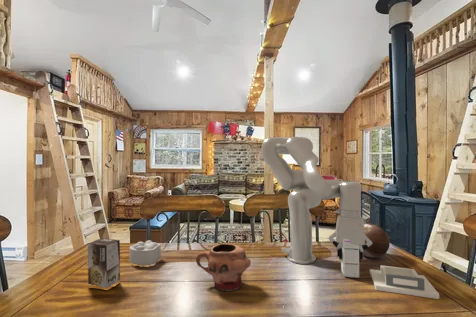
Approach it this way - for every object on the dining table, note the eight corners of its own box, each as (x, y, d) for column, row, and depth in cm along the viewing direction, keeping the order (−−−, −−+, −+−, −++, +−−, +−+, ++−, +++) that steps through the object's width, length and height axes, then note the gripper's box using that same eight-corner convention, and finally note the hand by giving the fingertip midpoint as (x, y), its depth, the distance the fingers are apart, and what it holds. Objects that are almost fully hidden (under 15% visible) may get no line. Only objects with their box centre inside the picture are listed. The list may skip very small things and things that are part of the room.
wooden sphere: (347, 256, 117) (347, 223, 117) (361, 248, 127) (360, 218, 128) (383, 266, 106) (382, 230, 106) (394, 256, 116) (394, 223, 116)
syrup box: (359, 278, 95) (360, 239, 95) (343, 276, 96) (343, 238, 96) (355, 271, 100) (356, 234, 100) (340, 269, 102) (340, 233, 102)
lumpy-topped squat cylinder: (152, 268, 107) (151, 247, 107) (124, 266, 109) (123, 246, 109) (163, 258, 117) (163, 239, 117) (137, 257, 119) (137, 238, 120)
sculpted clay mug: (191, 294, 86) (191, 252, 86) (198, 277, 98) (198, 241, 98) (251, 294, 85) (250, 253, 85) (250, 277, 97) (250, 241, 97)
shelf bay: (375, 289, 87) (375, 275, 87) (369, 272, 100) (369, 260, 100) (439, 299, 81) (439, 283, 81) (424, 279, 94) (423, 266, 94)
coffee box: (121, 283, 94) (120, 239, 94) (106, 292, 88) (106, 245, 88) (102, 279, 97) (101, 237, 97) (87, 287, 91) (86, 242, 91)
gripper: (326, 213, 98) (326, 260, 98) (376, 217, 92) (376, 267, 92) (326, 210, 105) (326, 253, 105) (373, 213, 99) (373, 259, 99)
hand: (349, 259), depth 98 cm, fingers closed on syrup box, 6 cm apart
